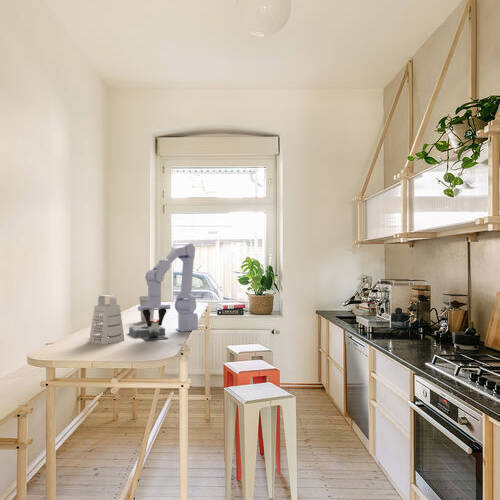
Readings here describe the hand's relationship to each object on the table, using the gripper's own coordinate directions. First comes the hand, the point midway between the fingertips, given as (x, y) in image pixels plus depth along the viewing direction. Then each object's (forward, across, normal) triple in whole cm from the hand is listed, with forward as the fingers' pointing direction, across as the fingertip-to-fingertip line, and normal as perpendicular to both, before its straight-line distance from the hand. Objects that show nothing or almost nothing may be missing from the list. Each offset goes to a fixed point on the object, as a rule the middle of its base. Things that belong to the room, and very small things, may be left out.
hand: (154, 325), depth 191 cm
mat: (+6, 0, 0) cm, 6 cm away
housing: (+6, 0, +12) cm, 13 cm away
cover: (+5, 0, +1) cm, 5 cm away
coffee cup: (+6, +11, +50) cm, 52 cm away
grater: (+6, -20, +4) cm, 21 cm away
